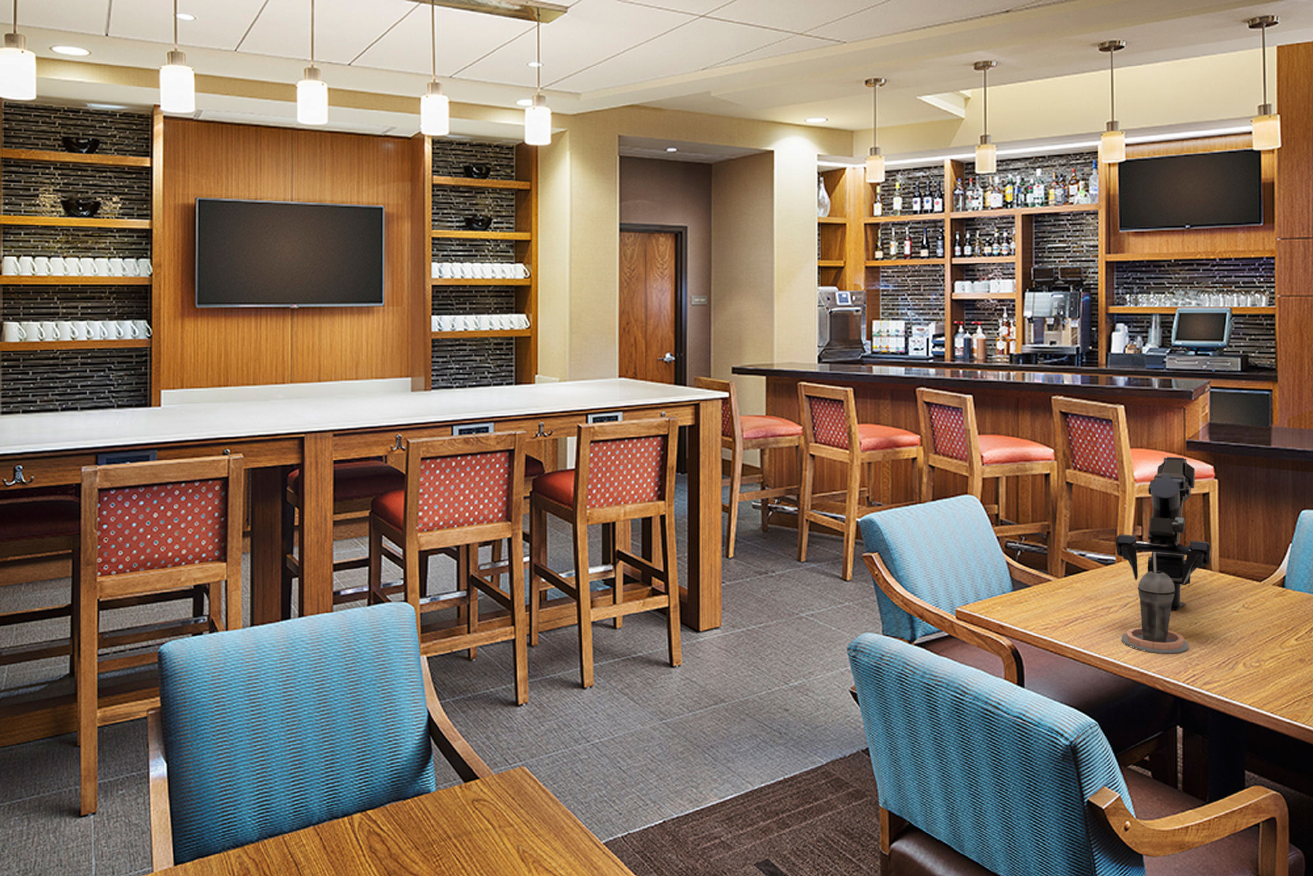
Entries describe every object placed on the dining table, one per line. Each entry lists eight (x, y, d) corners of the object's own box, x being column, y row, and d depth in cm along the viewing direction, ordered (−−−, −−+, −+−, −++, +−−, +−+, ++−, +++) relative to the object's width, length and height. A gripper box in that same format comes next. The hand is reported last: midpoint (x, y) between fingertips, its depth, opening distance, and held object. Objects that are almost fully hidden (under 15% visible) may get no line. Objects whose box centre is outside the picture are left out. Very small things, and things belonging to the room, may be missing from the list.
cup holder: (1133, 629, 216) (1134, 622, 216) (1196, 642, 207) (1197, 634, 207) (1112, 644, 207) (1112, 636, 207) (1176, 658, 198) (1177, 650, 198)
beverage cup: (1180, 642, 206) (1184, 552, 203) (1160, 648, 202) (1163, 557, 200) (1148, 633, 212) (1152, 545, 209) (1128, 639, 208) (1131, 550, 206)
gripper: (1117, 499, 217) (1110, 558, 210) (1212, 506, 207) (1207, 567, 200) (1121, 526, 225) (1113, 583, 217) (1212, 533, 215) (1207, 593, 207)
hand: (1159, 581), depth 210 cm, fingers open, 9 cm apart
